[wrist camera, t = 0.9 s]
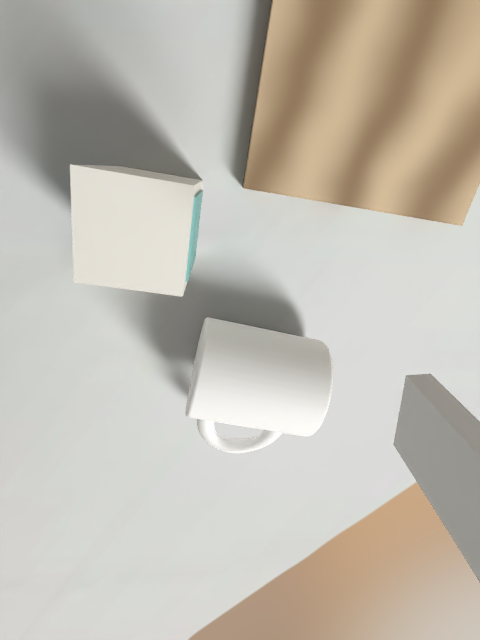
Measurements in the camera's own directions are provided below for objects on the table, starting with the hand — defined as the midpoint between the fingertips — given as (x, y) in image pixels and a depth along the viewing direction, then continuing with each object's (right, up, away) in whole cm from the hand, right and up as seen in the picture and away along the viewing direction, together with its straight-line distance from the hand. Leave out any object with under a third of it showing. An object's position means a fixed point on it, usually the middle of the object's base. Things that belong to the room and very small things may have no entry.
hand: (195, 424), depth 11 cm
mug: (+2, -1, +22) cm, 22 cm away
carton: (-5, +11, +16) cm, 20 cm away
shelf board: (+11, +20, +12) cm, 26 cm away
